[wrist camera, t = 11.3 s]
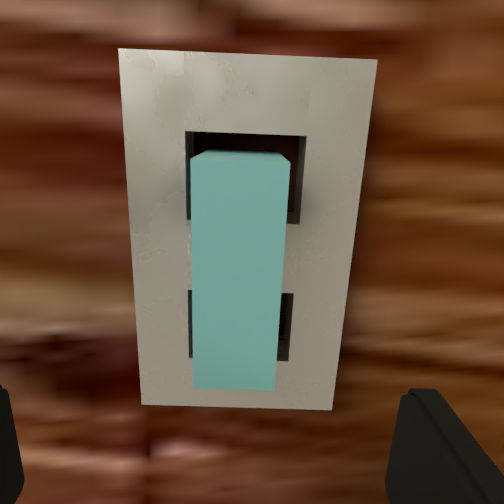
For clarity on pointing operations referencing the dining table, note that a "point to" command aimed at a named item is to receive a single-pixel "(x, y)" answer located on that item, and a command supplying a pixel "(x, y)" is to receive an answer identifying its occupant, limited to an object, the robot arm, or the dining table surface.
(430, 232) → the dining table surface
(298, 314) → the grey rectangular frame
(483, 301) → the dining table surface
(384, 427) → the dining table surface
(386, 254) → the dining table surface
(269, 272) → the teal notched block
